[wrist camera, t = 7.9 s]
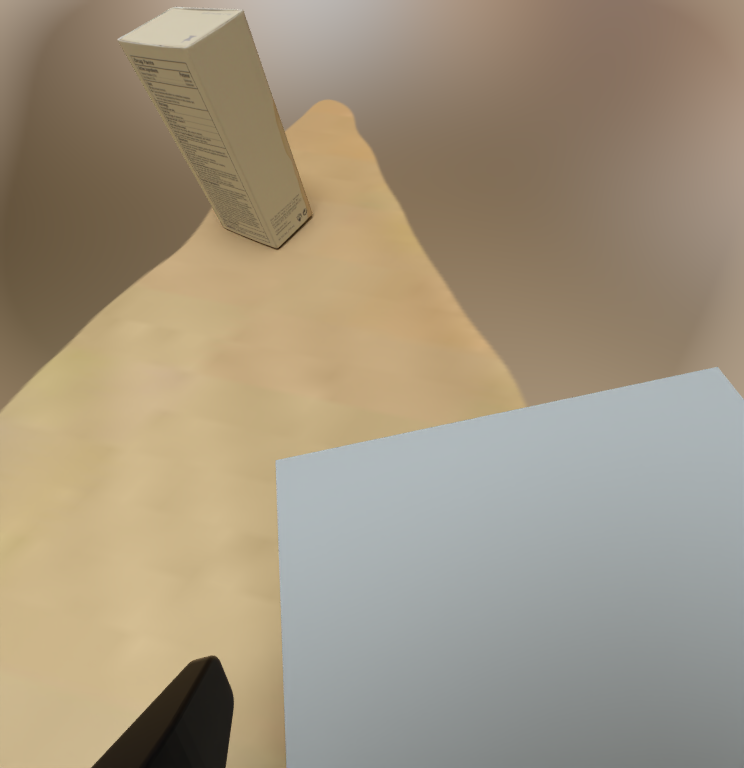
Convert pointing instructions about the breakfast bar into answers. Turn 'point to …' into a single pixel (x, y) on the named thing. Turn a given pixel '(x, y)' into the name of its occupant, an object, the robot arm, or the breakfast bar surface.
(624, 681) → the pillar
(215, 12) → the skincare box
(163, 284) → the breakfast bar surface
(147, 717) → the robot arm
